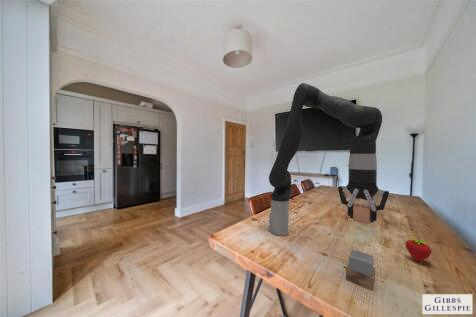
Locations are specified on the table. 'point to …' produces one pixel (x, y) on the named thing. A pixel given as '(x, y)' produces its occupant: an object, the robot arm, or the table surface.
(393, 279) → the table surface
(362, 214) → the terracotta cylinder
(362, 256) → the tower middle
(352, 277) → the tower base
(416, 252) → the strawberry
